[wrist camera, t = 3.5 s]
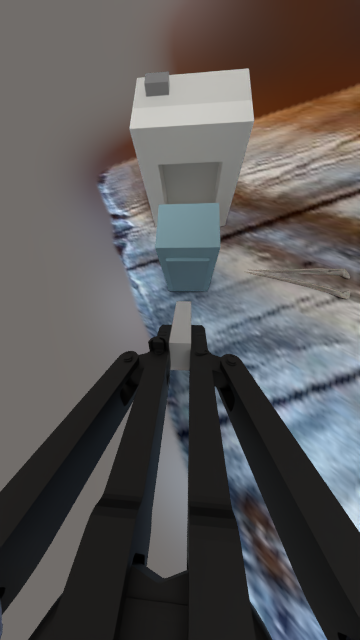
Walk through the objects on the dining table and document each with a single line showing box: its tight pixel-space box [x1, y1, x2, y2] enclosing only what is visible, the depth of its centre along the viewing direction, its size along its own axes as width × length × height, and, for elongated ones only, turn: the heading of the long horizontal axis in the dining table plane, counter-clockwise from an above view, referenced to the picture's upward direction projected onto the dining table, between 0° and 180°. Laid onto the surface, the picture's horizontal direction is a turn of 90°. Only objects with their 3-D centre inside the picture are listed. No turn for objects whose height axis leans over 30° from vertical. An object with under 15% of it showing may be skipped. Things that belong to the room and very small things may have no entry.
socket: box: [130, 69, 254, 227], centre depth 21 cm, size 12×8×13 cm, turn 88°
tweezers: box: [246, 268, 351, 299], centre depth 24 cm, size 17×5×2 cm, turn 79°
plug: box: [155, 203, 220, 291], centre depth 20 cm, size 6×8×10 cm
